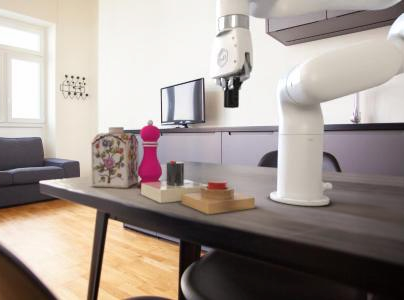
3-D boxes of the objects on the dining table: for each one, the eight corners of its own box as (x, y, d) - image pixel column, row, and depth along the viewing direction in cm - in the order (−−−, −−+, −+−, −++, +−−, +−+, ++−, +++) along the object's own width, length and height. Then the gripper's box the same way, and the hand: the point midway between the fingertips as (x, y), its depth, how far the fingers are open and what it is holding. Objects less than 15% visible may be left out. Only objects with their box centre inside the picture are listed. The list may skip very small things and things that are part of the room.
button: (218, 187, 67) (218, 179, 67) (230, 190, 63) (230, 182, 63) (204, 188, 65) (204, 180, 65) (215, 191, 61) (215, 183, 61)
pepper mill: (162, 189, 84) (162, 119, 83) (137, 188, 84) (137, 119, 83) (161, 184, 92) (162, 120, 91) (138, 184, 92) (138, 120, 91)
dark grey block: (187, 184, 73) (187, 161, 73) (171, 186, 71) (171, 162, 71) (178, 182, 77) (178, 160, 77) (163, 183, 75) (163, 160, 75)
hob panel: (186, 190, 83) (186, 179, 82) (210, 197, 73) (210, 185, 72) (141, 194, 76) (141, 182, 76) (160, 203, 66) (160, 189, 66)
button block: (223, 198, 71) (224, 182, 71) (254, 208, 62) (254, 189, 62) (181, 203, 66) (181, 186, 66) (208, 214, 57) (208, 194, 57)
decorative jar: (139, 182, 96) (139, 127, 95) (128, 188, 85) (128, 126, 84) (105, 181, 99) (105, 127, 98) (90, 187, 87) (89, 126, 86)
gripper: (200, 36, 74) (199, 109, 75) (242, 14, 61) (241, 103, 61) (224, 40, 77) (223, 110, 78) (269, 20, 64) (267, 105, 65)
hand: (231, 107), depth 70 cm, fingers closed
